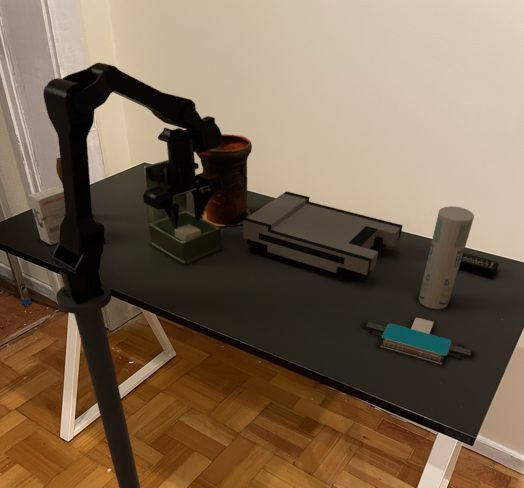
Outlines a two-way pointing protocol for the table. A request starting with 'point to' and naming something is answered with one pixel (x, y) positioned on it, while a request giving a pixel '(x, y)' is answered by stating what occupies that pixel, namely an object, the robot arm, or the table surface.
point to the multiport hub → (478, 265)
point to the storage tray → (187, 249)
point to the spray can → (445, 256)
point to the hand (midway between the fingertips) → (186, 224)
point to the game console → (318, 236)
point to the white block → (186, 232)
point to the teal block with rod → (417, 341)
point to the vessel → (228, 180)
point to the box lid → (180, 200)
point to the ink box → (49, 213)
